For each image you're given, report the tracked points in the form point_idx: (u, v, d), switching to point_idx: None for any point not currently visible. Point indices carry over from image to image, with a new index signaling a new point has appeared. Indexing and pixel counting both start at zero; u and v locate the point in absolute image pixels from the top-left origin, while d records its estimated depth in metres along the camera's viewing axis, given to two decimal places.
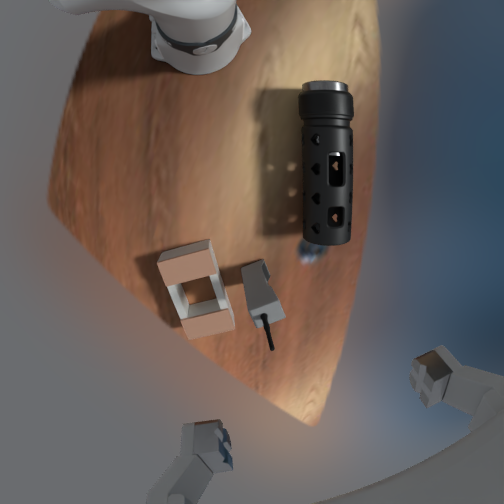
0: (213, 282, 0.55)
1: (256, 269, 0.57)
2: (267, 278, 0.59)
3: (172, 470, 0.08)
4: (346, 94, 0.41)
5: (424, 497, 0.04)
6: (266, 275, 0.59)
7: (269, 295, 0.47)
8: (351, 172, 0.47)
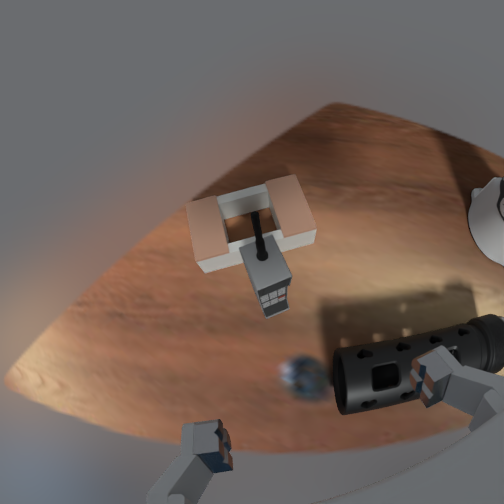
0: (269, 234, 0.43)
1: None
2: (266, 310, 0.41)
3: (172, 470, 0.08)
4: None
5: (424, 497, 0.04)
6: (271, 309, 0.41)
7: None
8: None
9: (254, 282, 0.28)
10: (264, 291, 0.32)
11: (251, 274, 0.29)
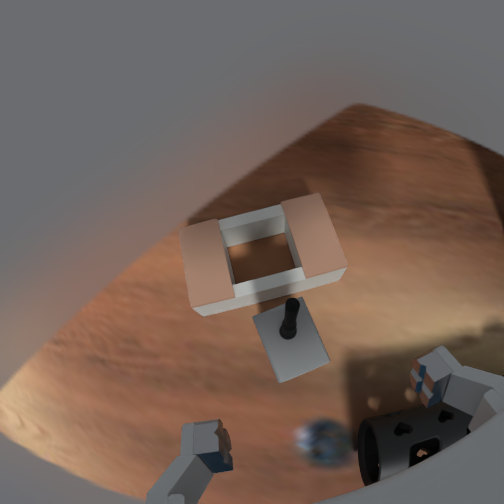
0: (286, 273, 0.33)
1: None
2: None
3: (172, 470, 0.08)
4: None
5: (424, 497, 0.04)
6: None
7: None
8: None
9: (276, 371, 0.18)
10: None
11: (271, 359, 0.19)
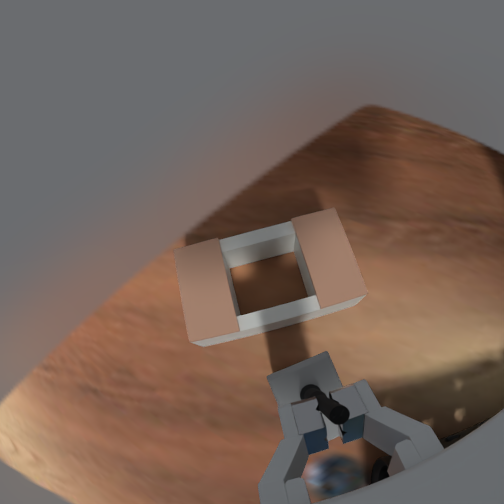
0: (299, 303, 0.28)
1: None
2: None
3: (281, 455, 0.08)
4: None
5: (424, 497, 0.04)
6: None
7: None
8: None
9: None
10: None
11: None
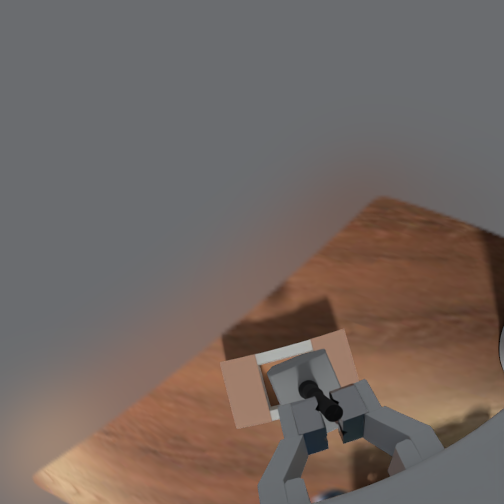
0: None
1: None
2: None
3: (280, 455, 0.08)
4: None
5: (424, 497, 0.04)
6: None
7: None
8: None
9: None
10: None
11: None
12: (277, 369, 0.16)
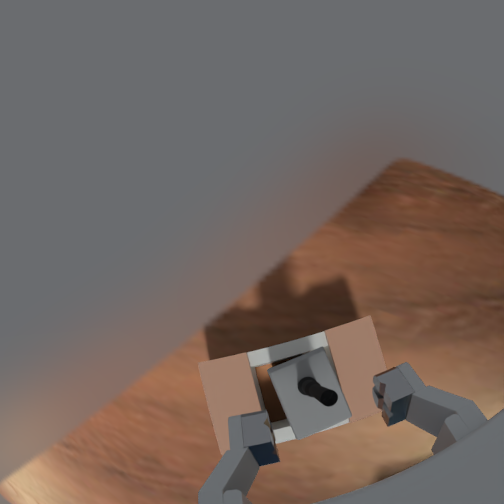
0: None
1: None
2: None
3: (224, 465, 0.08)
4: None
5: (424, 497, 0.04)
6: None
7: None
8: None
9: (293, 428, 0.15)
10: None
11: (289, 416, 0.16)
12: (277, 366, 0.17)
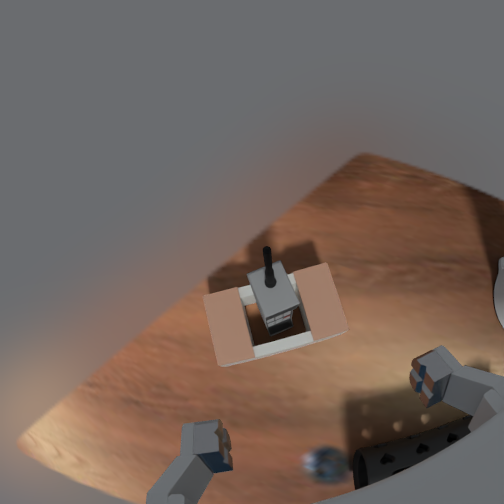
0: (298, 337, 0.38)
1: None
2: (270, 329, 0.41)
3: (172, 470, 0.08)
4: None
5: (424, 497, 0.04)
6: (275, 327, 0.41)
7: None
8: None
9: (262, 309, 0.28)
10: (271, 315, 0.32)
11: (259, 301, 0.29)
12: (252, 271, 0.30)
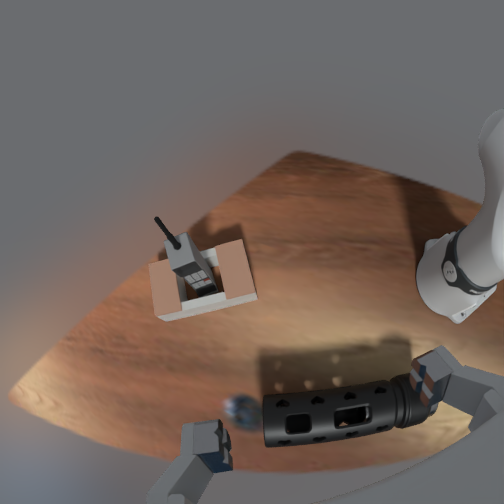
0: (215, 296, 0.50)
1: (211, 276, 0.53)
2: (198, 291, 0.53)
3: (172, 470, 0.08)
4: (428, 412, 0.35)
5: (424, 497, 0.04)
6: (202, 290, 0.54)
7: (197, 258, 0.43)
8: (347, 436, 0.36)
9: (170, 264, 0.40)
10: (183, 272, 0.44)
11: (169, 258, 0.41)
12: (167, 239, 0.42)
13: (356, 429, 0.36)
